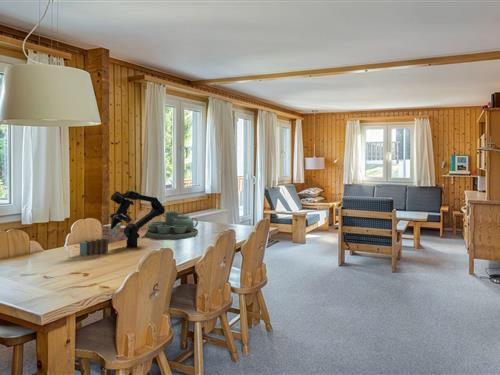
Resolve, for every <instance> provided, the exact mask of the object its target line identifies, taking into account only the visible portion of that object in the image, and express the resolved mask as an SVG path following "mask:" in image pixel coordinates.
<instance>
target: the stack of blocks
mask: <svg viewBox="0 0 500 375" xmlns="http://www.w3.org/2000/svg"><path fill="white" fill-rule="evenodd" d="M125 226H126V225H122V224H121V223H118V224H117V225H116V226H115V227H114V228H113V229H111V223H109V224H105V225H104V224H103V225H102V226H101V239H103V238H104V239H108V245H109V244H114V243H116V242H117V241H118V242H120V241H125V240H128V237H126V235H125V234H124V228H125ZM113 242H114V243H113ZM118 242H117V243H118Z"/></svg>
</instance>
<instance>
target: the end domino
mask: <svg viewBox="0 0 500 375" xmlns="http://www.w3.org/2000/svg"><path fill="white" fill-rule="evenodd" d="M79 255H80V256H82V257H87V256H88V255H87V243H86V242H85V241H79Z"/></svg>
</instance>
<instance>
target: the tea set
mask: <svg viewBox="0 0 500 375" xmlns="http://www.w3.org/2000/svg"><path fill="white" fill-rule="evenodd" d="M179 213H180V211H178V210H177V211H176V210H168V211H166V210H165V212H164V215H165V220H164V221H152V222H151V223H149V224H148V223H147V226H148V229H147V230H146V232H145V235H146V236H147V237H150V238H153V239H160V240H178V239H180V238H181V239H188V238H194V237H196V236H197V235H198V234H199V230H198V229H197V228H196V227H197V226H198V224H199V221H198V219H197V218H194V217H193V218H191V217H190V216H189V215H187V214H184V213H182V214H179ZM194 220H195V221H196V223H195V222H194Z"/></svg>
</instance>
